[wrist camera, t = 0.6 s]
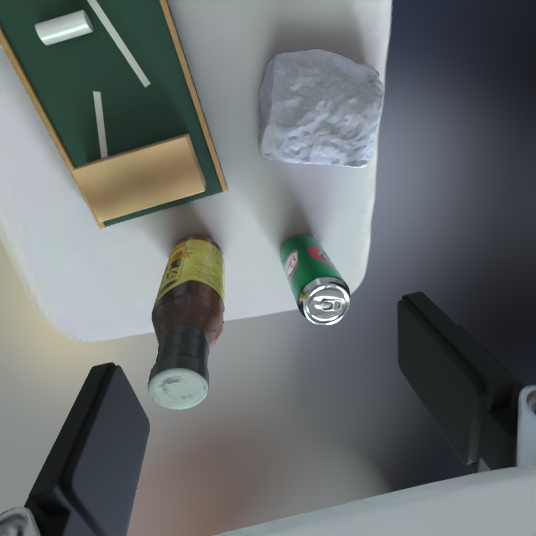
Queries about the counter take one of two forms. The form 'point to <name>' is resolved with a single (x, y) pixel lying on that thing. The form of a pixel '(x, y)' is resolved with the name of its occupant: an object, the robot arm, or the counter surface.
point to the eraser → (141, 177)
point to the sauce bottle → (187, 322)
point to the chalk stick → (64, 27)
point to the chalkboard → (110, 83)
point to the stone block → (319, 109)
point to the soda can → (314, 280)
